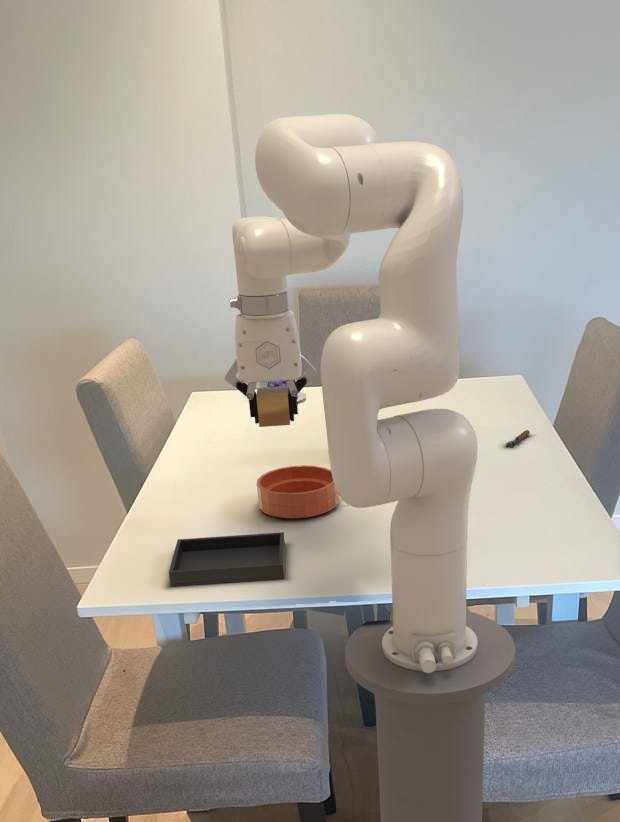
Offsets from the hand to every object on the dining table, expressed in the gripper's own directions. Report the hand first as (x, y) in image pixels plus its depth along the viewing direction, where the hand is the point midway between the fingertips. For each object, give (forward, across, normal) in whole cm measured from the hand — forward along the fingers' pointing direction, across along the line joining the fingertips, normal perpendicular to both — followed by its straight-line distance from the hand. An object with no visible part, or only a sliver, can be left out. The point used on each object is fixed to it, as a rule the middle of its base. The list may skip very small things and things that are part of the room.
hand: (274, 418), depth 152 cm
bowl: (+18, +3, +5) cm, 19 cm away
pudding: (+18, -1, +74) cm, 77 cm away
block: (0, 0, 0) cm, 0 cm away
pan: (+18, -8, -18) cm, 26 cm away
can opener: (+18, +48, +32) cm, 60 cm away
